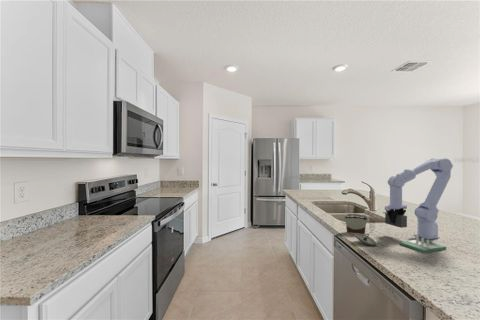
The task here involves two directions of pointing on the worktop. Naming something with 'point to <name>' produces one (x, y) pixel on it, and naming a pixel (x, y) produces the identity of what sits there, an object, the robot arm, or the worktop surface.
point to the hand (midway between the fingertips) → (395, 222)
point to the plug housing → (397, 220)
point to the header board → (422, 245)
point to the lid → (365, 239)
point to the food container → (355, 223)
